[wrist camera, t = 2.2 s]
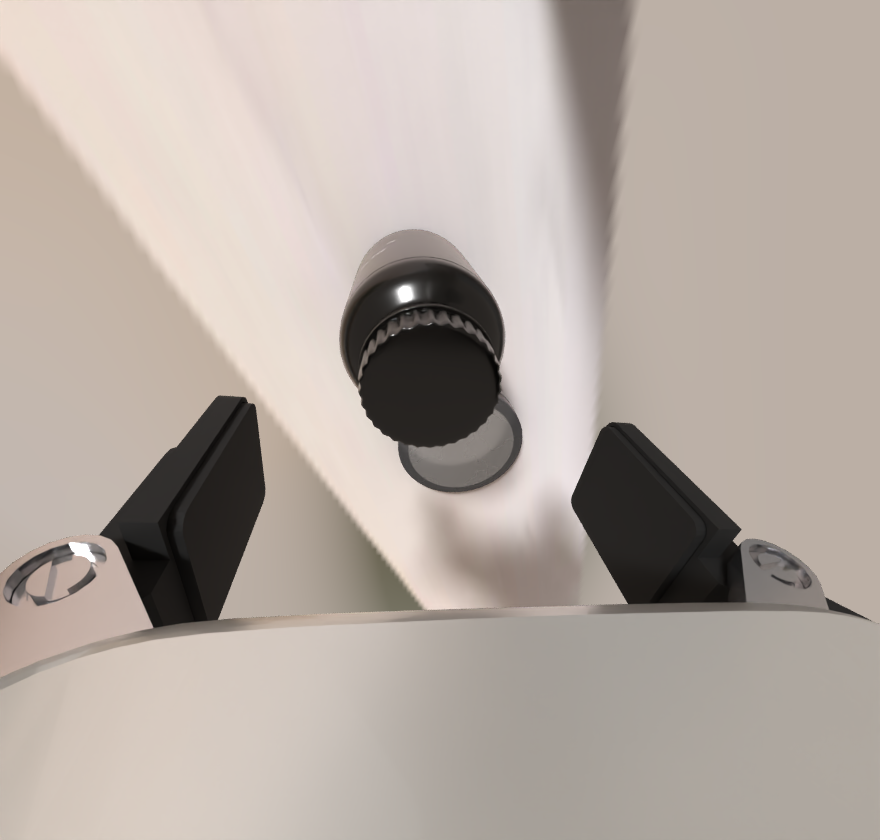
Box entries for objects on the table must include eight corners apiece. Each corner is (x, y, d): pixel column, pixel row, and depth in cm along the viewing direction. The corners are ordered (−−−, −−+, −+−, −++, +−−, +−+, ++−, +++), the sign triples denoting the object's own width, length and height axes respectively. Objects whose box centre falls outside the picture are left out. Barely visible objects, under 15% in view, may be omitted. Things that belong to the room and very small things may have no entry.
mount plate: (404, 376, 25) (405, 387, 24) (530, 387, 27) (538, 398, 25) (393, 477, 30) (393, 492, 29) (501, 481, 31) (505, 495, 30)
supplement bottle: (352, 222, 20) (314, 273, 10) (478, 232, 21) (560, 287, 11) (356, 345, 24) (333, 471, 14) (463, 349, 25) (514, 469, 15)
